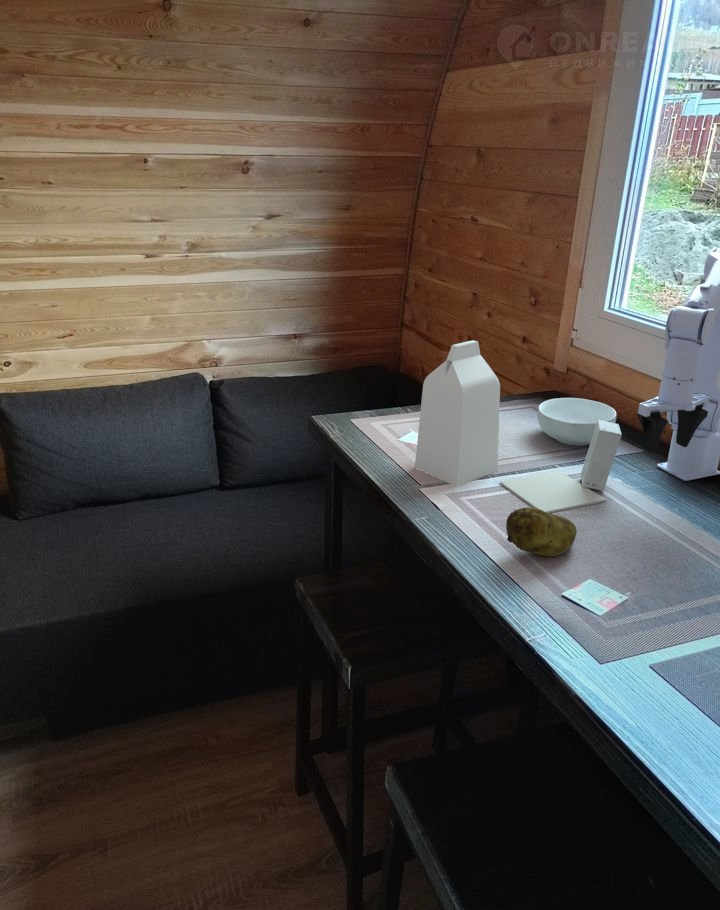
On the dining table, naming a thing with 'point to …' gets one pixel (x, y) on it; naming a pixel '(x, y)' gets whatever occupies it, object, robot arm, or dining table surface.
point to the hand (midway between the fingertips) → (666, 448)
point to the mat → (552, 491)
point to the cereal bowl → (573, 419)
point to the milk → (459, 418)
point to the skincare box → (600, 455)
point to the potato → (540, 531)
